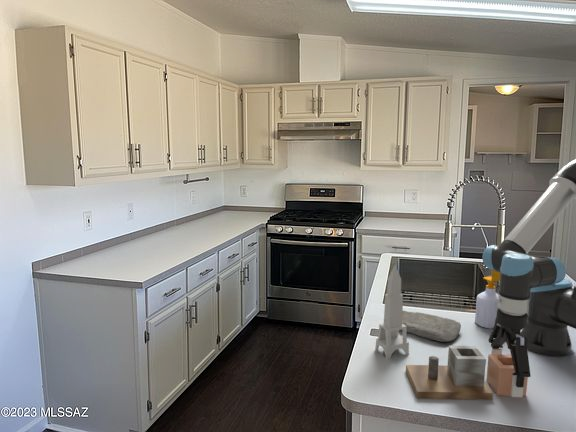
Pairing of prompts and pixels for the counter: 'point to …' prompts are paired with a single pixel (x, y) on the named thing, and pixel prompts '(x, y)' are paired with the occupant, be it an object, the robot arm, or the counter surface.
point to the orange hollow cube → (502, 374)
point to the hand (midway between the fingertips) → (505, 382)
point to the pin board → (443, 385)
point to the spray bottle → (487, 303)
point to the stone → (431, 326)
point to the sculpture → (393, 318)
